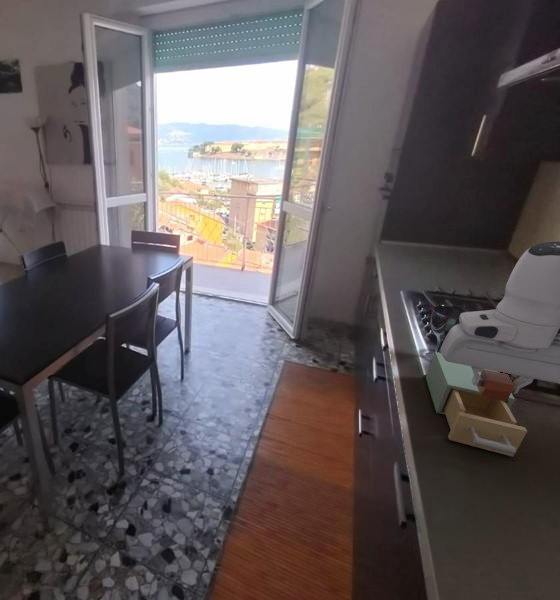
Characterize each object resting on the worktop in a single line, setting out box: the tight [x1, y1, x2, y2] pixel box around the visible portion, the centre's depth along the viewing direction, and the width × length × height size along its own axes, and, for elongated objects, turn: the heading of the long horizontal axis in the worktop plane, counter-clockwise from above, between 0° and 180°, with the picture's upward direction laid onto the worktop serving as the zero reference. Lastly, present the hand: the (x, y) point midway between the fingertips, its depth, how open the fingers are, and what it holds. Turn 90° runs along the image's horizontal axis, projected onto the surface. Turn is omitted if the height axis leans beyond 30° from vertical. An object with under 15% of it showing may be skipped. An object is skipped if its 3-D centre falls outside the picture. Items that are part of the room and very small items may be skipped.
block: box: [477, 369, 515, 401], centre depth 72 cm, size 4×4×4 cm
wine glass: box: [424, 305, 466, 360], centre depth 100 cm, size 8×8×15 cm
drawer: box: [443, 388, 528, 458], centre depth 75 cm, size 18×10×7 cm, turn 154°
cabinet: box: [425, 351, 516, 416], centre depth 85 cm, size 15×12×9 cm
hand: (493, 387), depth 72 cm, fingers closed on block, 4 cm apart
